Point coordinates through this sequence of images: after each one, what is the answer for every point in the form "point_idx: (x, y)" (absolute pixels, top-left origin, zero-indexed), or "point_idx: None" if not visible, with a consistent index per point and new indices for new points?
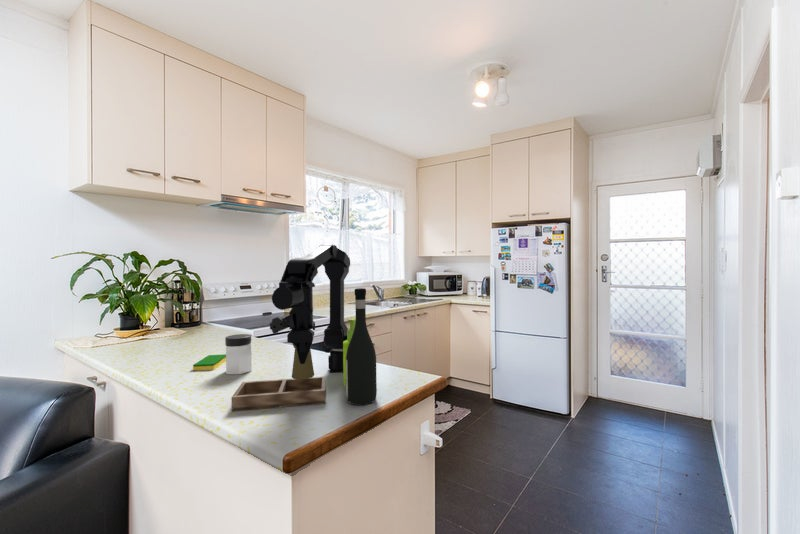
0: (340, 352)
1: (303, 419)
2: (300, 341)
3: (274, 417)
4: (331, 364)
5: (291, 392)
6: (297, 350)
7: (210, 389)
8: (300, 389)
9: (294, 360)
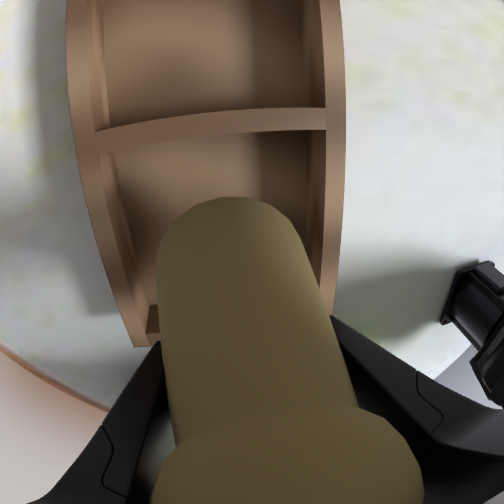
0: (488, 340)
1: (13, 262)
2: None
3: (13, 156)
4: (479, 285)
5: (93, 210)
6: (87, 451)
7: None
8: (291, 195)
9: (196, 301)
